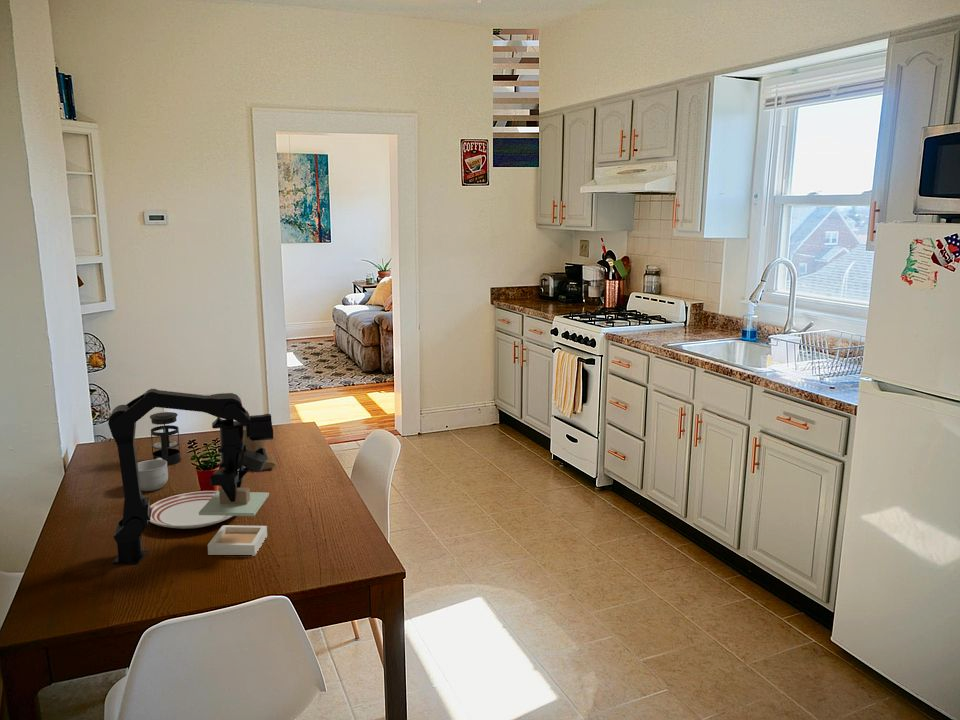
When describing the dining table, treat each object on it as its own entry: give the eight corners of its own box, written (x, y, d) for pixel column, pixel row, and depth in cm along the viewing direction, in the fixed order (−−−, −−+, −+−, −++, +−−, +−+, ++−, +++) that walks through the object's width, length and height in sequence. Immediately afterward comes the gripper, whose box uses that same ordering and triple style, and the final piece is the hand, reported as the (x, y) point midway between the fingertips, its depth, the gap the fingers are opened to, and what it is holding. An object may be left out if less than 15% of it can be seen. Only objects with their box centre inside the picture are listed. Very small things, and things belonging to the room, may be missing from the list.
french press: (153, 457, 263) (149, 395, 258) (181, 455, 266) (177, 393, 261) (150, 468, 252) (146, 403, 247) (180, 466, 255) (176, 401, 250)
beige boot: (236, 460, 262) (234, 419, 259) (271, 456, 266) (269, 416, 263) (240, 474, 248) (238, 431, 245) (277, 470, 253) (275, 428, 250)
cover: (254, 516, 187) (253, 500, 187) (198, 515, 187) (198, 499, 186) (268, 495, 201) (268, 480, 200) (217, 494, 201) (216, 479, 200)
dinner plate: (147, 504, 222) (147, 494, 221) (242, 494, 232) (242, 484, 231) (142, 543, 197) (141, 531, 196) (249, 529, 206) (248, 518, 206)
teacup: (155, 495, 228) (153, 471, 227) (124, 492, 231) (122, 468, 229) (181, 480, 242) (180, 457, 240) (152, 477, 244) (150, 454, 242)
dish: (254, 556, 190) (254, 545, 189) (208, 555, 190) (207, 544, 189) (267, 536, 202) (266, 525, 201) (223, 535, 202) (222, 525, 201)
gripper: (252, 454, 182) (255, 513, 185) (272, 432, 200) (274, 486, 203) (207, 453, 182) (210, 513, 185) (231, 431, 200) (234, 486, 203)
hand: (234, 499), depth 194 cm, fingers closed on cover, 3 cm apart
